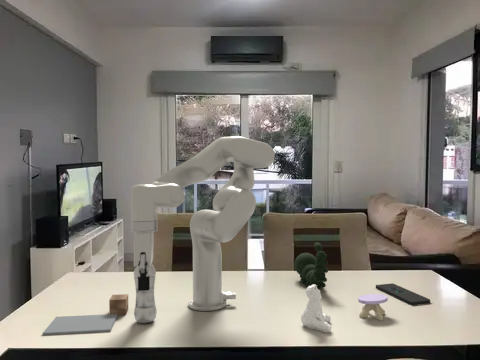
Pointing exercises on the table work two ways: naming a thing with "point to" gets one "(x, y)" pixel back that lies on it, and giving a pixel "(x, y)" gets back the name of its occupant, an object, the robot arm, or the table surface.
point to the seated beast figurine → (315, 311)
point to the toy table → (372, 304)
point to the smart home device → (403, 294)
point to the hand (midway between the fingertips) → (145, 286)
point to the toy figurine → (312, 267)
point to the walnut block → (118, 304)
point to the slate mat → (81, 324)
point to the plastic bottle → (145, 298)
